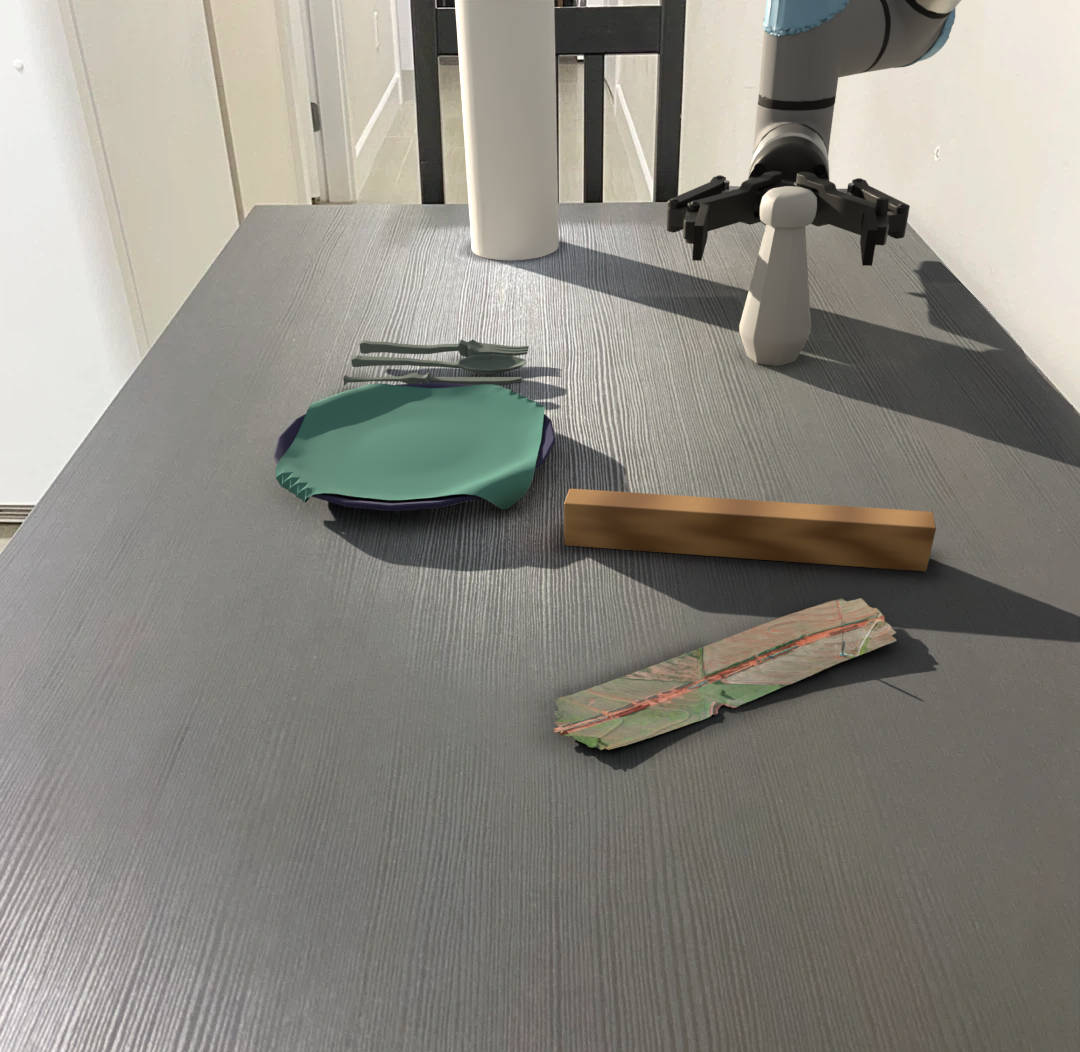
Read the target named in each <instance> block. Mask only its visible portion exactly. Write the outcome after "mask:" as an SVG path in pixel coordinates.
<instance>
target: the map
mask: <svg viewBox="0 0 1080 1052" xmlns="http://www.w3.org/2000/svg"><path fill="white" fill-rule="evenodd" d="M885 620H886V618H885V616H884V613H882V612H881V610H880V609H878V608H877V607H871V606H870V605H869V604H868V603H867V602H866V601H865V600H864V599H863V598H861V597H860V598H857V599H852V600H848V601H847V600H845V599H844V598H843V597H840V598H837V599H833V600H830V601H826V602H824V603H820V604H818V605H814V606H812V607H807V608H805V609H802V610H798V611H795V612H792V613H789V614H787V615H784V616H783V615H782V616H780V617H778V618H776V619H773V620H770V621H768V622H766V623H765V622H764V623H762V624H758V625H757V626H754V627H752V628H748V629H745V630H744V631H741V632H738V633H735V634H733V635H731V636H727V637H726V638H723V639H721V640H720V639H719V640H717V641H715V642H713V643H709V644H707V645H704V646H701V647H699V648H697V649H693V650H691V651H687V652H685V653H683V654H680V655H677V656H675V657H673V658H669V659H667V660H665V661H664V660H663V661H661V662H659V663H655V664H654V665H653V664H652V665H651V666H648V667H645V668H642V669H638V670H637V671H634V672H630V673H628V674H625V675H623V676H620V677H617V678H615V679H611V680H609V681H606V682H603V683H600V684H598V685H594V686H591V687H589V688H586V689H583V690H580V691H577V692H573V693H572V694H567V695H564V696H560V697H558V698H555V700H554V703H555V706H557V708H558V710H555V711H554V712H553V714H554V715H555V717H556V721H555V722H554V725H556V727H554V728H552V732H554V733H556V734H560V735H561V736H564V737H573V739H574V740H576V742H577V741H578V742H580V743H582V744H584V745H586V746H587V747H588V748H597V749H599V750H600V751H602V750H604V749H605V750H608V751H610V750H613V749H617V748H620V747H625V746H628V745H632V744H635V743H637V742H641V741H644V740H646V739H650V738H653V737H656V736H659V735H662V734H665V733H667V732H671V731H673V730H674V731H675V730H677V729H680V728H683V727H685V726H688V725H691V724H694V723H697V722H700V721H703V720H706V719H708V718H710V717H712V715H714V716H717V715H718V713H719V710H720V708H721V707H722V706H725V707H727V708H731V709H735V708H736V709H737V708H738V707H740V706H742V705H745V704H747V703H749V702H752V701H754V700H757V699H758V698H761V697H764V696H765V695H769V694H770V693H772V692H775V691H777V690H779V689H782V688H784V687H786V686H789V685H793V684H794V683H797V682H799V681H801V680H804V679H807V678H808V677H811V676H813V675H816V674H818V673H820V672H822V671H824V670H827V669H829V668H831V667H833V666H836V665H838V664H841V663H843V662H846V661H848V660H851V659H853V658H857V657H859V656H862V655H863V654H867V653H870V652H872V651H875V650H877V649H879V648H881V647H884V646H887V645H890V644H892V643H894V642H895V643H896V642H897V641H898V640H897V639H896V637H894V636H893V635H895V634H897V631H896V630H894V629H893V628H892V626H891V625H890V624H889V622H887V621H885Z"/></svg>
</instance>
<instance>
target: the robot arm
mask: <svg viewBox="0 0 1080 1052" xmlns="http://www.w3.org/2000/svg"><path fill="white" fill-rule="evenodd" d="M961 1H962V0H766V3H765V4H766V5H765V12H764V17H763V19H762V28H763V34H762V35H763V36H762V37H763V38H762V49H761V50H762V51H761V63H760V75H759V90H758V101H757V105H756V114H755V126H754V138H753V148H752V158H751V161H750V165H749V171H748V177H747V179H746V180H744V181H742V182H741V184H740V185H739V186H738V185H730V184H731V183H730V180H728V179H727V177H726V176H725V175H715V176H712V178H711V179H710V181H708V182H706V183H704V184H702V185H700V186H698V187H695V188H693V189H691V190H687V191H686V192H683V193H681V194H678V195H676V196H674V197H672V198H669V199H668V200H667V211H666V231H667V232H668V233H671V234H673V233H677V232H680V231H682V233H683V234H682V238H683V239H684V240H685V243H686V244H688V245H689V244H690V245H692V257H691V258H692V259H691V260H692V261H697V262H702V260H703V256H704V253H705V248H706V245H707V241H708V237H709V232H711V231H714V230H717V229H722V228H725V227H729V226H733V225H735V224H738V223H743V224H746V225H751V226H752V225H755V224H758V223H761V224H762V225H763V226H766V224H764V223H763V222H762V221H761V220H760V204H761V200H762V197H763V196H764V195H765V194H766V193H767V192H768V191H769V190H771V189H774V188H778V187H784V186H794V187H801V188H805V189H808V190H811V191H812V192H813V193H814V195H815V196H816V197H817V210H816V216H815V218H814V220H813V222H812V224H811V226H815V227H823V226H827V225H830V226H833V227H836V228H839V229H841V230H844V231H847V232H850V233H853V234H856V235H859V236H860V238H859V239H860V240H859V245H860V255H861V256H860V257H861V266H864V267H865V266H868V267H869V266H870V267H872V266H873V262H874V256H875V249H876V246H885V245H886V244H887V239H888V237H891V238H893V239H897V240H898V239H903V238H905V235H906V231H907V225H908V220H909V214H910V209H911V208H910V207H911V206H910V205H909V204H908V203H905V202H903V201H902V200H899V199H897V198H895V197H893V196H892V195H889V194H887V193H885V192H883V191H881V190H879V189H877V188H875V187H873V186H871V185H869V183H868V181H867V180H866V179H863V178H862V177H856V178H854V179H852V181H851V182H849V183H847V188H837V185H836V183H834V182H832V181H830V165H829V164H830V163H829V161H830V160H829V155H830V153H829V151H830V144H831V134H832V128H833V127H832V126H833V120H834V111H835V104H836V99H837V91H838V90H837V89H838V83H839V79H840V78H845V77H849V76H853V75H859V74H864V73H870V72H876V71H883V70H888V69H898V68H906V67H910V66H913V65H914V64H916V63H918V62H922V61H925V60H928V59H930V58H932V57H934V56H935V55H936V54H937V53H938V52H939V51H941V50H942V48H943V47H944V46H945V45H946V43H947V42H948V40H949V39H950V34H951V31H952V28H953V26H954V25H955V20H956V8H957V6H958V5H959V4H960V3H961Z"/></svg>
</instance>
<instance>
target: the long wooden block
mask: <svg viewBox="0 0 1080 1052" xmlns="http://www.w3.org/2000/svg"><path fill="white" fill-rule="evenodd" d="M563 520H564V521H563V522H564V523H563V525H564V529H563V530H564V546H569V547H582V548H595V549H609V550H623V551H635V552H636V551H638V552H648V553H649V552H651V553H665V554H679V555H691V556H692V555H693V556H704V557H705V556H706V557H718V558H730V559H731V558H732V559H747V560H759V561H773V562H774V561H776V562H785V563H786V562H787V563H803V564H814V565H828V566H829V565H830V566H840V567H841V566H842V567H843V566H844V567H854V568H855V567H856V568H870V569H882V570H883V569H884V570H896V571H912V572H927V569H928V565H929V561H930V557H931V553H932V548H933V544H934V539H935V535H936V530H937V525H936V519H935V514H934V511H925V510H912V509H911V510H910V509H894V508H879V507H865V506H864V507H863V506H849V505H846V506H845V505H833V504H832V505H831V504H816V503H801V502H800V503H799V502H787V501H786V502H785V501H770V500H769V501H768V500H753V499H739V498H725V497H707V496H693V495H679V494H678V495H677V494H663V493H662V494H661V493H646V492H629V491H615V490H614V491H613V490H600V489H599V490H597V489H583V488H569V489H568V492H567V494H566V497H565V500H564V503H563Z"/></svg>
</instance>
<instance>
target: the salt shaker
mask: <svg viewBox="0 0 1080 1052" xmlns="http://www.w3.org/2000/svg"><path fill="white" fill-rule="evenodd" d="M816 210H817V197H816V196H815V195H814V193H813V192H812V191H811V190H808V189H805V188H801V187H794V186H784V187H778V188H774V189H771V190H769V191H768V192H767V193H766V194H765V195H764V196H763V197H762V200H761V204H760V220H761V221H762V222H763V223H764V224H766V225H765V229H764V232H763V236H762V238H761V239H762V240H761V243H760V247H759V251H758V254H757V258H756V261H755V265H754V270H753V273H752V277H751V280H750V285H749V289H748V293H747V295H746V300H745V303H744V306H743V311H742V315H741V318H740V322H739V326H738V330H739V335H740V339H741V342H742V345H743V348H744V352H745V355H746V357H747V358H749V359H750V360H751V361H753V362H754V363H755V364H757V365H765V366H776V367H777V366H778V367H780V366H783V365H787V364H791V363H794V362H796V361H797V359H798V357H799V355H800V354H801V352H802V350H803V348H804V346H805V344H806V343H807V340H808V338H809V336H810V333H811V330H812V320H811V318H812V317H811V302H810V301H811V300H810V287H809V286H810V285H809V271H808V252H807V251H808V250H807V235H806V234H807V232H806V227H807V226H810V225H812V222H813V220H814V218H815V216H816ZM763 223H762V224H763ZM764 224H763V225H764Z"/></svg>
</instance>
